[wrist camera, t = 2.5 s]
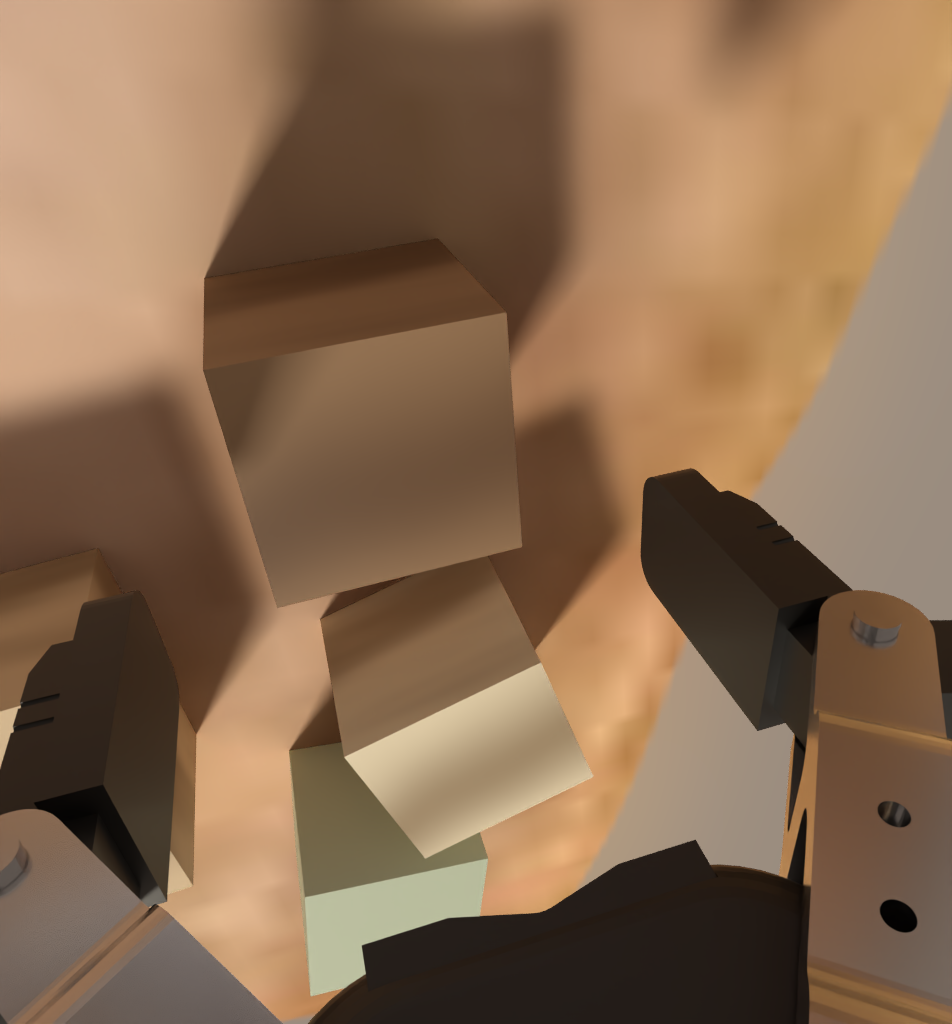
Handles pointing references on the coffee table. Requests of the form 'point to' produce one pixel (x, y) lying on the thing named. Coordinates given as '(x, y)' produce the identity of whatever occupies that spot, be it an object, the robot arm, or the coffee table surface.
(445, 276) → the walnut block
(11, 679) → the oak base
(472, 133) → the coffee table surface
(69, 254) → the coffee table surface
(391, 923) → the sage block
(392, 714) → the beech block
